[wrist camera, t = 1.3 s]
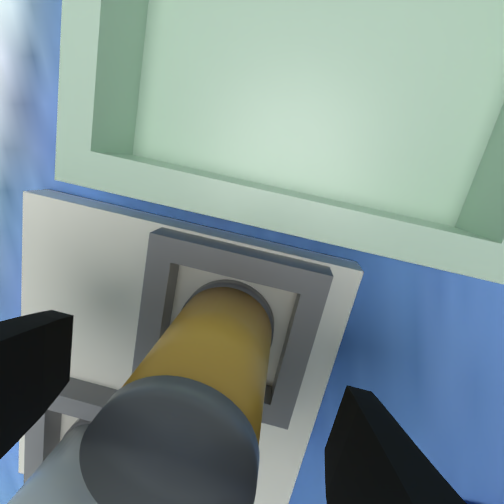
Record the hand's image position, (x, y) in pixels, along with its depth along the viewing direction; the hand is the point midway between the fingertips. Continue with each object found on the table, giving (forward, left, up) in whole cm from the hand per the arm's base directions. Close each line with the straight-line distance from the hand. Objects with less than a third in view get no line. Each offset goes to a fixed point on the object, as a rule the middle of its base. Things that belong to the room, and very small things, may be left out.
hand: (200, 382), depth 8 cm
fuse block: (+2, +4, -5) cm, 6 cm away
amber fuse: (0, 0, -3) cm, 3 cm away
